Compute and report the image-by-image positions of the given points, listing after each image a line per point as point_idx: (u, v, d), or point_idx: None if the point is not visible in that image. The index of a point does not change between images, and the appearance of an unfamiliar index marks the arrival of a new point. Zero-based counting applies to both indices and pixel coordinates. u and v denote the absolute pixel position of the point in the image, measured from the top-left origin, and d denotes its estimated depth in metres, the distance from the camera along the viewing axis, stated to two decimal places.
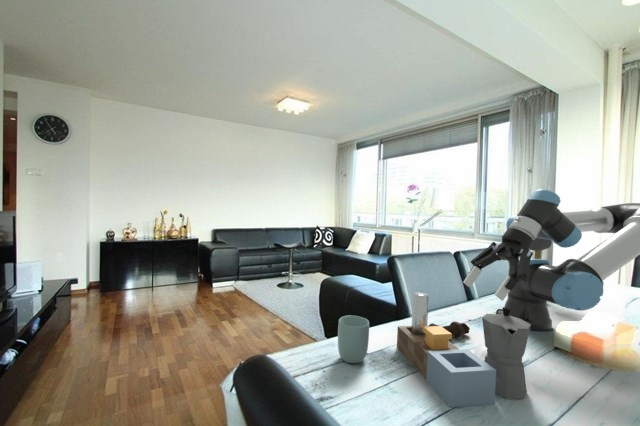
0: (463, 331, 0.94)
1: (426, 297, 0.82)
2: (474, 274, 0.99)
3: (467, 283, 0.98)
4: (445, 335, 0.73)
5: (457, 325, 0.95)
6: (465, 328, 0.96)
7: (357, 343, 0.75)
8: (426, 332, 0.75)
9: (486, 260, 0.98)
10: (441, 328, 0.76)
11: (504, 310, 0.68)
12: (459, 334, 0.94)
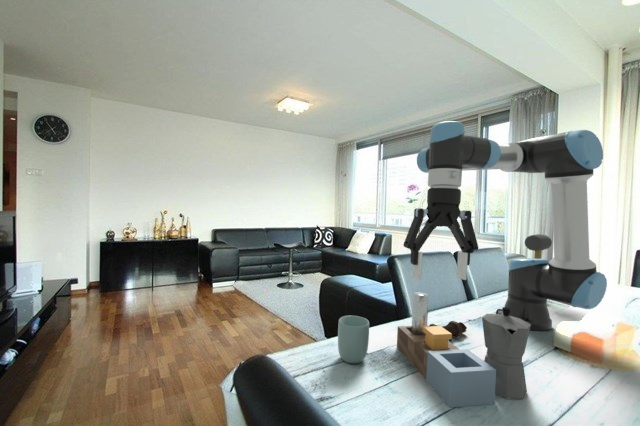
0: (461, 330, 0.95)
1: (426, 297, 0.82)
2: None
3: None
4: (445, 335, 0.73)
5: (455, 325, 0.95)
6: (462, 327, 0.97)
7: (357, 343, 0.75)
8: (426, 332, 0.75)
9: None
10: (441, 328, 0.76)
11: (504, 310, 0.68)
12: (457, 333, 0.95)
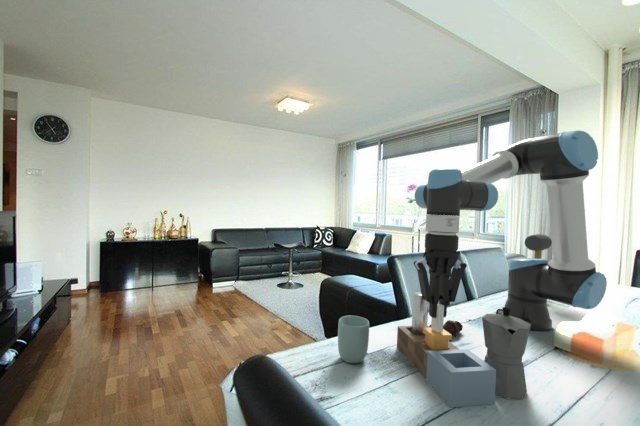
0: (459, 329, 0.95)
1: None
2: None
3: None
4: (445, 336, 0.73)
5: (453, 324, 0.96)
6: (459, 326, 0.98)
7: (357, 343, 0.75)
8: (426, 333, 0.75)
9: None
10: None
11: (504, 310, 0.68)
12: (455, 333, 0.95)
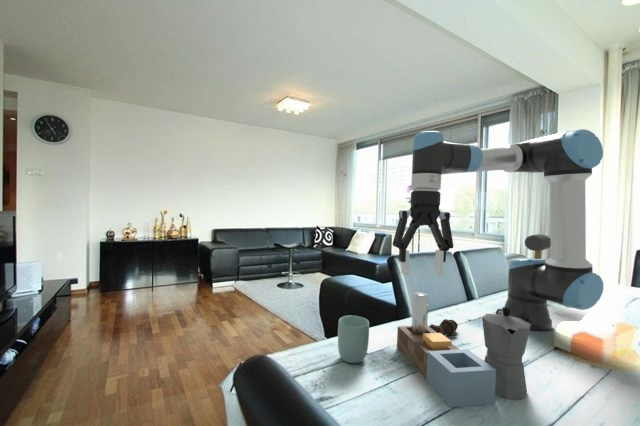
0: (455, 328, 0.96)
1: (426, 297, 0.82)
2: None
3: None
4: (445, 342, 0.73)
5: (449, 323, 0.97)
6: (455, 325, 0.98)
7: (357, 343, 0.75)
8: (426, 339, 0.75)
9: None
10: (441, 335, 0.76)
11: (504, 310, 0.68)
12: (452, 331, 0.96)
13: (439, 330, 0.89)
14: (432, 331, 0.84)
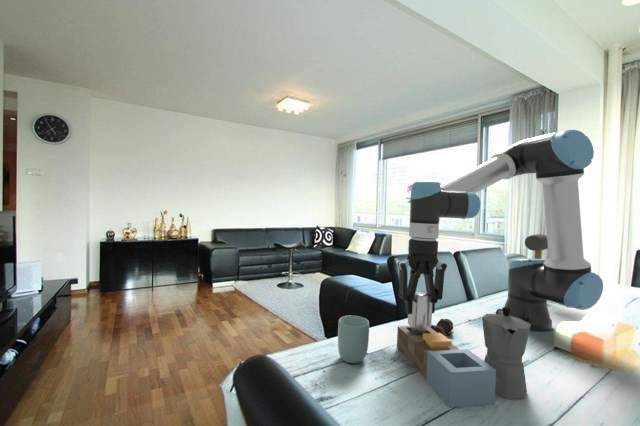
0: (452, 327, 0.97)
1: (426, 297, 0.82)
2: None
3: None
4: (445, 342, 0.73)
5: (447, 322, 0.97)
6: (451, 324, 0.99)
7: (357, 343, 0.75)
8: (426, 339, 0.75)
9: None
10: (441, 335, 0.76)
11: (504, 310, 0.68)
12: (449, 331, 0.96)
13: (440, 330, 0.89)
14: (432, 331, 0.84)
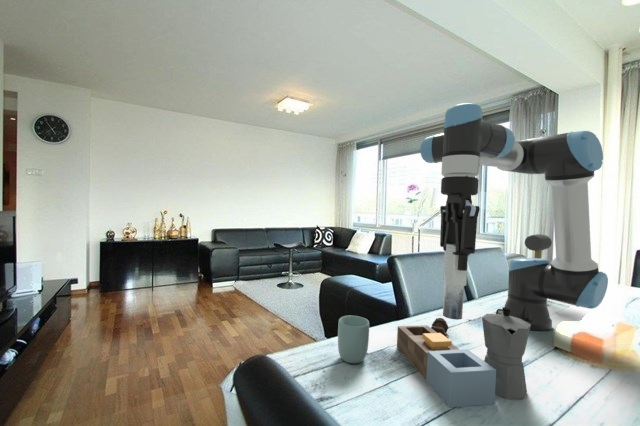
0: None
1: None
2: None
3: None
4: (445, 342, 0.73)
5: (443, 322, 0.97)
6: None
7: (357, 343, 0.75)
8: (426, 339, 0.75)
9: None
10: (441, 335, 0.76)
11: (504, 310, 0.68)
12: (445, 330, 0.97)
13: (442, 331, 0.89)
14: (432, 331, 0.84)
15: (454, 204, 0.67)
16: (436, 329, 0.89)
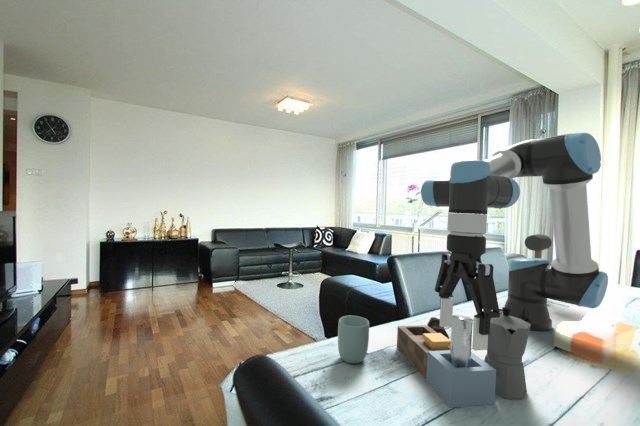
0: None
1: None
2: None
3: None
4: (445, 342, 0.73)
5: (438, 321, 0.98)
6: None
7: (357, 343, 0.75)
8: (426, 339, 0.75)
9: None
10: (441, 335, 0.76)
11: (504, 310, 0.68)
12: None
13: (444, 331, 0.88)
14: (432, 331, 0.84)
15: (462, 263, 0.64)
16: (438, 330, 0.89)
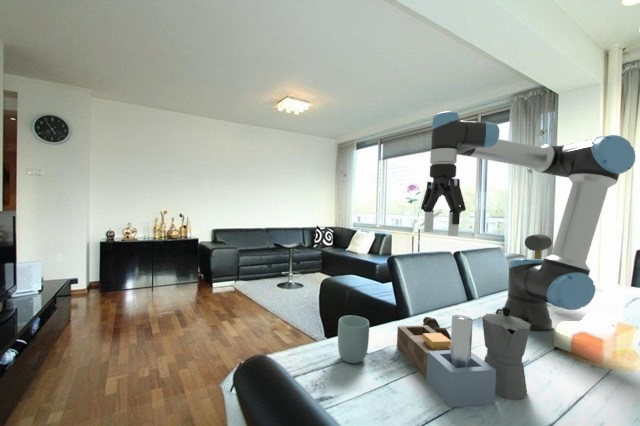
0: (438, 325, 0.99)
1: None
2: None
3: None
4: (445, 342, 0.73)
5: (435, 321, 0.98)
6: None
7: (357, 343, 0.75)
8: (426, 339, 0.75)
9: None
10: (441, 335, 0.76)
11: (504, 310, 0.68)
12: None
13: (446, 332, 0.88)
14: (432, 331, 0.84)
15: (440, 183, 0.93)
16: (440, 330, 0.88)
